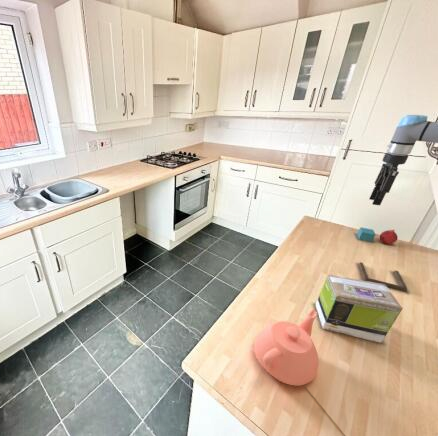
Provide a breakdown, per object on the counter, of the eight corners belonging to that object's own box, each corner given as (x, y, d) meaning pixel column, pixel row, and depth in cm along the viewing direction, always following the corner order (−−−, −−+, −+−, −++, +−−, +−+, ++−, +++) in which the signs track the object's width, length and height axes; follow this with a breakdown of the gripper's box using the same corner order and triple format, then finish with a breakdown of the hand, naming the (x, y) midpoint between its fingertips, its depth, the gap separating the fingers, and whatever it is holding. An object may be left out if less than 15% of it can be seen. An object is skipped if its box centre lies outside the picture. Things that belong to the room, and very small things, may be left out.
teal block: (356, 235, 121) (360, 227, 118) (368, 238, 119) (373, 229, 116) (358, 240, 117) (362, 232, 115) (371, 243, 115) (375, 234, 112)
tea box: (366, 317, 79) (387, 283, 72) (380, 344, 70) (405, 309, 63) (313, 305, 83) (328, 272, 76) (321, 330, 75) (338, 295, 68)
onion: (381, 246, 112) (389, 231, 109) (374, 239, 117) (381, 225, 114) (396, 248, 111) (404, 233, 107) (388, 241, 116) (396, 226, 112)
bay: (357, 265, 101) (359, 262, 100) (395, 274, 96) (398, 271, 95) (363, 282, 93) (365, 278, 92) (405, 293, 87) (407, 289, 86)
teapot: (280, 321, 78) (290, 293, 72) (332, 359, 67) (348, 330, 61) (235, 358, 68) (242, 329, 62) (287, 410, 57) (302, 381, 51)
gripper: (380, 148, 114) (360, 194, 125) (392, 157, 99) (368, 208, 110) (401, 149, 110) (379, 196, 121) (417, 159, 96) (390, 211, 107)
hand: (374, 202), depth 116 cm, fingers open, 6 cm apart
